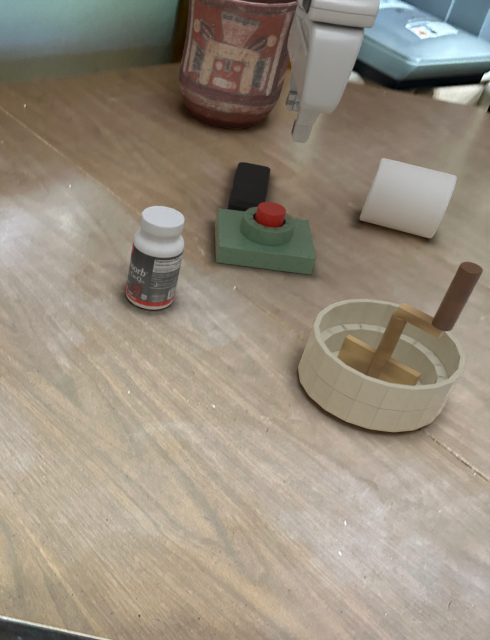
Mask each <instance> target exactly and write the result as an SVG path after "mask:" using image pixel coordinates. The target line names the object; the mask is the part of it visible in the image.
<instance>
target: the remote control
mask: <svg viewBox="0 0 490 640" xmlns="http://www.w3.org/2000/svg"><path fill="white" fill-rule="evenodd" d="M270 175H271V168H270V167H269V166H266V165H261V164H256V163H250V162H245V161H240V162H238V163H237V165H236V170H235V174H234V178H233V182H232V187H231V191H230V195H229V200H228V204H227V208H226V209H228V210H236V211H244V212H245V211H246V210H248V209H249V208H252V207H258V205H259V204H260V203H262V202H267V201H266V200H267V194H268V188H269V183H270Z"/></svg>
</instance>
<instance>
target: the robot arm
mask: <svg viewBox="0 0 490 640" xmlns="http://www.w3.org/2000/svg"><path fill="white" fill-rule="evenodd" d="M297 1H298V4H297V7H296V11H295V14H294V18H293V22H292V25H291V29H290V32H289V37H288V44H287V49H288V53H289V62H290V65H291V68H290V74H289V75H290V76H289V83H288V91H287V95H286V99H285V108H286V110H287V111H290V112H297V116H296V119H294V121H293V125H292V129H291V133H290V134H291V139H292V141H293V142H295V143H301V144H305V143H307V142H308V141H309V139H310V136H311V132H312V129H313V126H314V125H315V124H316V121H317V119H318V118H319V116H320V114H332V113H334V111H335V110H336V109H337V107H338V105H339V103H340V102H341V99H342V97H343V96H344V93H345V90H346V88H347V85H348V82H349V80H350V78H351V76H352V75H351V74H352V72H353V69H354V68H355V65H356V61H357V60H358V59H357V58H358V56H359V53H360V50H361V47H362V44H363V41H364V36H365V29H372V28H373V27H374V25H375V23H376V20H377V16H378V14H379V9H380V2H381V0H297Z"/></svg>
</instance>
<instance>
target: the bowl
mask: <svg viewBox="0 0 490 640" xmlns="http://www.w3.org/2000/svg"><path fill="white" fill-rule="evenodd" d="M400 305H401V304H399V303H395V302H393V301H387V300H381V299H380V300H379V299H373V298H351V299H343V300H340V301H336V302H333V303H330V304H329V305H327V306H326V307H324V308H323V309H322V310H320V311H319V312H318V313H317V315H316V317H315V320H314V322H313V324H312V328H311V330H310V333H309V336H308V338H307V341H306V344H305V346H304V349H303V352H302V356H301V358H300V361H299V363H298V366H297V370H298V378H299V383H300V384H301V386H302V388H303V389H304V391H305V393H306V394H307V395H308V396H309V397H310V398H311V399H312V400H313V401H314V402H315V403H316V404H317V405H319V407H321V409H323V410H324V411H326V412H327V413H329V414H331V415H333V416H335V417H336V418H338V419H340V420H342V421H344V422H346V423H349V424H352V425H355V426H358V427H361V428H363V429H367V430H372V431H379V432H387V433H399V432H410V431H416V430H418V429H421V428H423V427H425V426H428V425H430V424H432V423H433V422H434V420H435V419H436V418H438V416H440V414H441V413H442V411H443V409H444V407H445V406H446V404H447V402H448V401H449V399H450V396H451V395H452V393H453V392H454V389H455V388H456V386H457V384H458V383H459V381H460V379H461V378H462V375H463V374H464V372H465V368H466V361H467V356H466V354H465V352H464V349H463V346H462V343H461V342H459V340H458V339H457V338H456V337H455V335H453V333H452V332H451V331H445V333H444V334H443V335H442V336H441V337H439V338H437V337H435V336H433V335H431V334H429V333H427V332H425V331H423V330H422V329H420V328H418V327H416V326H414V325H412V324H410V323H408V322H407V323H406V326H405V328H404V330H403V332H402V334H401V336H400V338H399V340H398V343H397V345H396V347H395V349H394V351H393V353H392V355H391V358H393V359H395V360H397V361H399V362H401V363H402V364H404V365H406V366H408V367H410V368H411V369H413V370H415V371H417V372H419V373H420V374H421V376H420V378H419V380H418V382H417V384H416V386H410V385H402V384H395V383H389V382H385V381H382V380H379V379H376V378H373V377H370V376H366V375H365V374H363V373H361V372H359V371H357V370H355V369H353V368H351V367H349V366H347V365H346V364H345V363H343V362H342V361H341V360H340V359H339V358H337V357H338V354H339V352H340V349H341V347H342V344H343V342H344V339H345V337H346V336H348V335H349V334H350V335H352V336H353V337H355V338H357V339H359V340H361V341H362V342H364V343H366V344H368V345H370V346H372V347H373V348H375V349H377V347H378V345H379V343H380V340H381V338H382V336H383V334H384V332H385V329H386V327H387V325H388V323H389V320H390V318H391V316H392V314H393V312H395V311H397V309H398V307H399V306H400Z"/></svg>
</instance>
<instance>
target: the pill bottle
mask: <svg viewBox="0 0 490 640" xmlns="http://www.w3.org/2000/svg"><path fill="white" fill-rule="evenodd" d="M140 216H141V217H140V220H139V226H140V228H139V229H137V231H136V232H135V234H134V236H133V239H132V240H133V241H132V245H131V246H132V247H131V253H130V260H129V267H128V273H127V280H126V286H125V295H126V297H127V299H128V300H129V302H130V303H132V304H133V305H134V306H136V307H139V308H142V309H146V310H153V311H154V310H163V309H165V308H168V307H169V306H171V305H172V303H173V302H174V299H175V296H176V291H177V285H178V282H179V281H178V280H179V275H180V271H181V266H182V260H183V255H184V251H185V240H184V237H183V235H182V232H183V231H184V226H185V221H186V220H185V216H184V215H183V214H182V213H181V212H180V211H178V210H177V209H175V208H172V207H169V206H166V205H165V206H164V205H152V206H148V207H146V208H145V209H144V210H142V212H141V215H140Z"/></svg>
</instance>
